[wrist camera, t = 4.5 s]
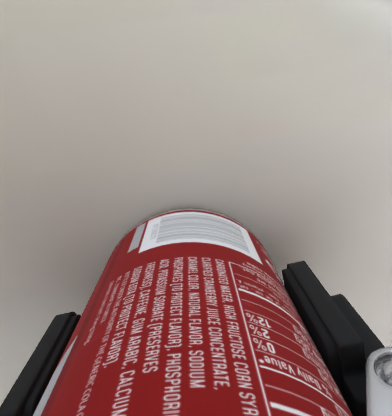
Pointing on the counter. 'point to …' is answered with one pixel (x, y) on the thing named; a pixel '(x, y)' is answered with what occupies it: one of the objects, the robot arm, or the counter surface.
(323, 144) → the counter surface
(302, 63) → the counter surface
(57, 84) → the counter surface
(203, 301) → the soda can
